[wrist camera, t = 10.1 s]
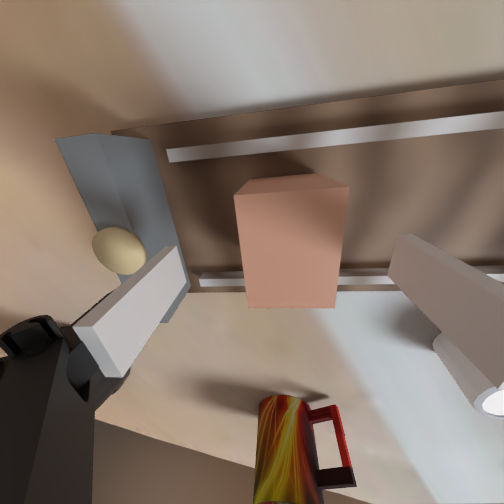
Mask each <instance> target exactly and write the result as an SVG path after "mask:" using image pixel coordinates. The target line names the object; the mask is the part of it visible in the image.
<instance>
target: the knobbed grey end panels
mask: <svg viewBox="0 0 504 504" xmlns="http://www.w3.org/2000/svg"><path fill="white" fill-rule="evenodd" d="M55 141H56V143H57V145H58V147H59V149H60V152H61V154H62V156H63V158H64V160H65V162H66V165H67V167H68V169H69V171H70V173H71V175H72V178H73V180H74V182H75V184H76V186H77V188H78V190H79V193H80V195H81V197H82V199H83V201H84V203H85V206H86V208H87V210H88V212H89V214H90V216H91V219H92V221H93V223H94V225H95V227H96V229H97V231H98V232H97V233H96V234H95V236H94V238H93V241H92V246H93V250H94V253H95V255H96V257H97V258H98V260H99V261H100V262H101V263H102V264H103V265H104V266H105V267H106V268H108V269H109V270H111V271H113V272H115V273H117V275H118V277H119V279H120V281H121V283H123V282H125V281H126V280H127V279H128V278H129V277H130V276H132V275H133V274H134V273H135V272H136V271H137V270H139V269H140V268H141V267H142V266H143V265H144V264H145V263H147V262H148V261H149V260H150V259H151V258H152V257H154V256H155V255H156V254H157V253H158V252H159V251H161V250H162V249H163V248H164V247H165V246H177V249H178V253H179V256H180V260H181V263H182V267H183V271H184V274H185V278H186V281H187V282H186V283H185V285H184V286H183V288H182V289H181V291H180V292H179V294H178V295H177V297H176V298H175V300H174V301H173V303H172V304H171V306H170V307H169V309H168V310H167V312H166V313H165V315H164V316H163V318H162V319H161V321H160V322H159V323H168V322H169V320H170V319H171V317H172V315H173V314H174V312H175V311H176V309H177V308H178V306H179V304H180V303H181V301H182V300H183V298H184V296H185V295H186V293H187V292H188V290H189V289H190V287H191V284H190V280H189V277H188V273H187V270H186V266H185V262H184V259H183V255H182V252H181V248H180V244H179V241H178V237H177V234H176V230H175V226H174V223H173V219H172V216H171V212H170V208H169V205H168V201H167V198H166V194H165V190H164V187H163V183H162V179H161V176H160V172H159V169H158V165H157V161H156V158H155V154H154V151H153V147H152V143H151V140H150V139H142V138H133V137H125V136H116V135H108V134H99V133H93V134H85V135H78V136H70V137H62V138H55Z"/></svg>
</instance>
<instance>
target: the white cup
mask: <svg viewBox="0 0 504 504" xmlns="http://www.w3.org/2000/svg"><path fill="white" fill-rule="evenodd" d="M432 345H433V348H434V350H435V352H436V353H437V355H438V356H439V358H440V359H441V361H442V362H443V364H444V365H445V367H446V368H447V370H448V371H449V373H450V374H451V376H452V377H453V379H454V380H455V381H456V383H457V384H458V386H459V387H460V389H461V390H462V392H463V393H464V395H465V396H466V398H467V399H468V401H469V402H470V404H471V405H472V407H473V408H474V409H475V410H476V411H477V412H478V413H479V414H481V415H483V416H486V417H490V418H493V419H504V389H497V388H496V387H495V386H494V385H493V384H492V383H491V382H490V381H489V380H488V379H487V378H486V377H485V376H484V375H483V373H482V372H481V371H480V370H479V369H478V368H477V367H476V366H475V365H474V364H473V363H472V362H471V361H470V360H469V359H468V358H467V357H466V356H465V355H464V354H463V353H462V352H461V351H460V350H459V349H458V348H457V347H456V346H455V345H454V344H453V343H452V342H451V341H450V340H449V339H448V338H447V337H446V336H445V335H444V334H443V333H442V332H441V333H440V334H439V335H438V336H437V337H436V338H435V339H434V341H433V344H432Z"/></svg>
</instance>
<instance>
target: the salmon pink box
mask: <svg viewBox="0 0 504 504" xmlns="http://www.w3.org/2000/svg"><path fill="white" fill-rule="evenodd" d="M348 195H349V186H347V185H345V184H342V183H340V182H338V181H335V180H333V179H331V178H328V177H326V176H324V175H321V174H319V173H313V174H302V175H290V176H279V177H267V178H256V179H249V180H248V181H247V182H246V183H245V184H244V185H243V186H242V187H241V188H240V189H239V190H238V191H237V192H236V193H235V194H234V203H235V211H236V218H237V226H238V234H239V241H240V249H241V257H242V265H243V272H244V280H245V288H246V296H247V303H248V308H335V302H336V293H337V285H338V277H339V269H340V261H341V252H342V244H343V236H344V228H345V219H346V211H347V203H348Z"/></svg>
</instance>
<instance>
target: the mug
mask: <svg viewBox="0 0 504 504" xmlns="http://www.w3.org/2000/svg"><path fill="white" fill-rule="evenodd" d="M329 420H333V424H334V428H335V433H336V438H337V442H338V447H339V451H340V456H341V460H342V465H343V467H337V468H329V469H322V470H319V464H318V457H317V450H316V443H315V436H314V429H313V424H315V423H320V422H324V421H329ZM344 436H345V434H344V430H343V426H342V422H341V418H340V414H339V410H338V407H337V406H336V405H330V406H327V407H323V408H319V409H315V410H311V409H310V407H309V405H308V404H307V403H306V402H304V401H303V400H301V399H299V398H296V397H293V396H287V395H275V396H270V397H268V398H265V399H264V400H262V401H261V403H260V405H259V416H258V433H257V449H256V465H255V482H254V498H253V504H324V500H323V493H322V490H324V489H335V488H346V487H357V485H356V481H355V477H354V473H353V469H352V465H351V461H350V457H349V453H348V449H347V445H346V441H345V437H344Z"/></svg>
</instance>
